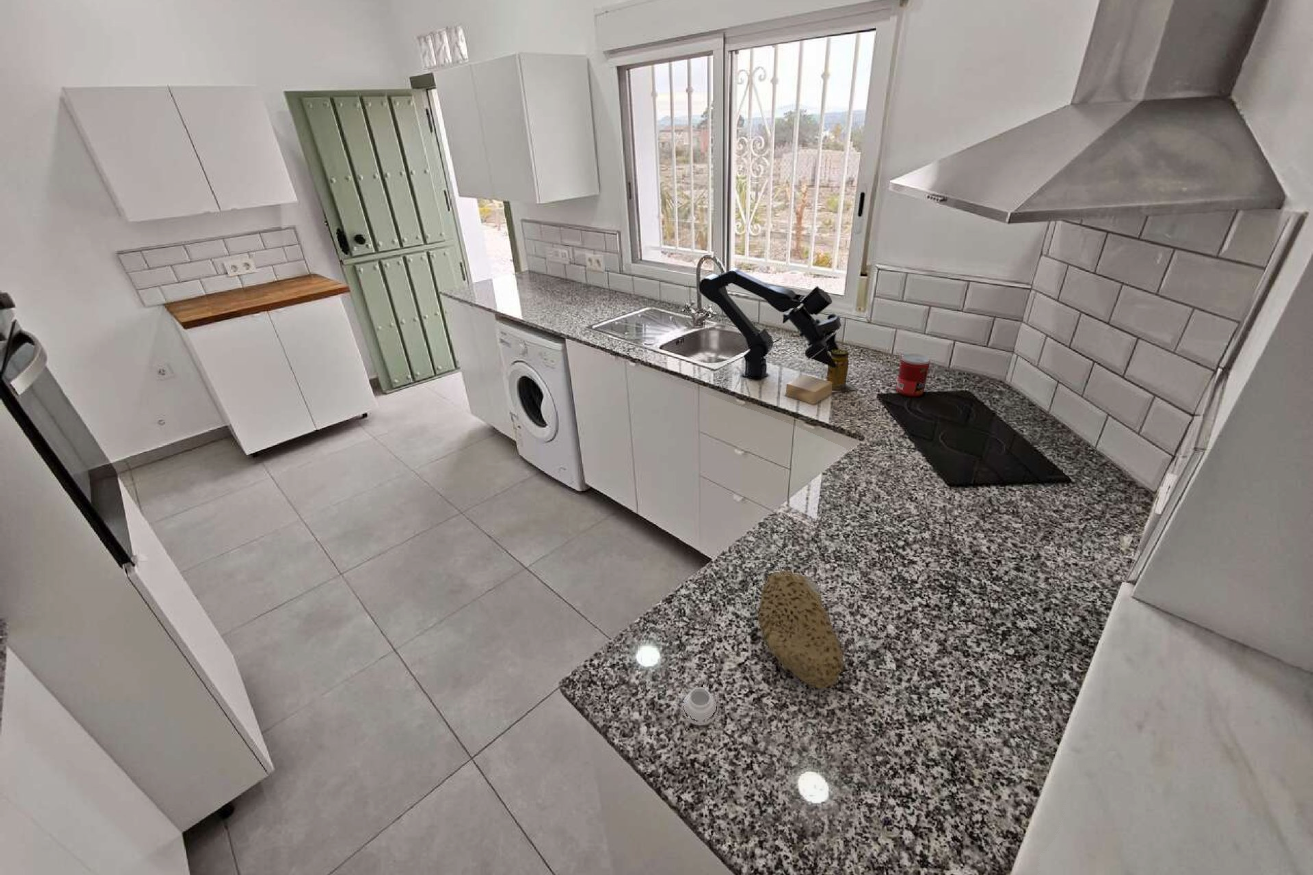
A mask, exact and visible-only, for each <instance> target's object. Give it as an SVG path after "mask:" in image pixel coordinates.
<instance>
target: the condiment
mask: <svg viewBox="0 0 1313 875" xmlns="http://www.w3.org/2000/svg"><path fill="white" fill-rule="evenodd" d="M830 356H831V357H832V359H833V360H834V362H835V363H836V365H837V366H836V367H835V368H833V367H830V366H828V365H827V372H826V379H825V380H826V381H830V382H833V383H832V391H831V393H840V392H842V393H843V392H846V391H847V392H849V391H855V390H857V388H855V387H854V386H852V385H851V384H850V383H848V382H847V378H848V372H849V363H850V361H849V351H848V350H845V349H840V348H839V349H836V350H833V351H831V353H830Z"/></svg>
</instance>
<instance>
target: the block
mask: <svg viewBox="0 0 1313 875" xmlns="http://www.w3.org/2000/svg"><path fill="white" fill-rule="evenodd" d="M832 383H833V382H830V381H826V379H822V378H819V377H816V376H812V375H808V374H805V373H804V374H802V375H800V376H798V377H797V378H795V379H792V380H790V381H789V382H787V383H786V384H785V385H786V387H785V397H788V398H789V397H790V398H792V399H796V400H799V401H801V402H805V403H808V404H811V405H815V404H816V403H817V404H818V402H820V401H822V400H824V399H825V398H827V397H829V396H830V395H832V392H831V391H832Z"/></svg>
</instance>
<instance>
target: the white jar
mask: <svg viewBox="0 0 1313 875" xmlns="http://www.w3.org/2000/svg"><path fill="white" fill-rule="evenodd" d="M684 699H685V700H684ZM684 699H683V701H682V705H681V710H682V714H683V717H684V718H685V719H686V721H688V723H691V724H692V725H695V726H700V727H701V726H707V725H709V724H711V723H713V721H715V719H716V718H717V716H718V713H719V705H718V704H717V705H716V702H717V703H718V701H717V700H716V698H715V697H714V695H713V694H712V693H711V692H710V691H709V690H708V689H707V688H705V687H699V686H698V687H695V688H693V689H692V690H691V691H690V692H688V694H687V695H686V696H685V697H684ZM715 700H716V701H715ZM683 702H684V703H683ZM683 704H684V705H683ZM683 706H684V710H685V712H686V713H687V714H688V715H689V716H691V718H692V719H695V720H699V721H701V720H704V719H709V717H711V716H712V715H713V713H714V712H715V710H716V706H717V712H716V714H715V715H714V717H713V718H712V719H710V720H708V721H706V722H696V721H693V720H691V719H690V718H688V717H687V716H686V714H685V712H684V710H683Z"/></svg>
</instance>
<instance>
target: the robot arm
mask: <svg viewBox="0 0 1313 875" xmlns="http://www.w3.org/2000/svg"><path fill="white" fill-rule="evenodd" d="M730 284H733V285H735V286H737V287H738V288H740V289H743V290H745V291H747V292H749V293H751V294H754V295H755V296H757V297H760V298H762V299H763V300H765V301H766V302H767V303H768V305H769V306H771V307H772V308H774V309H775V310H777V311H778V312H780V313H783V314H782V324H786V323H787V322H788V321H790V322H791V324H792V325H793V326H794V327H795V328H796V329H797V331H798V332H799V334H798V335H799V337H803V338H804V339H805V340H806V341H807V342H808V344H807V348H806V349H805V350H804V357H806V358H807V359H808V360H812V361H813V360H814V361H816V362H818V363H821V364H824V365H826V366H827V367H828V366H830V367H833V368H835V367H836V366H837V365H836V363H835V362H834V360H833V359H832V357H831V351H833V350H836V349H840V348H839V345H838V343H837V341H836V338H837V332H836V331H838V330H839V329H841V327H842V323H841V317H839V315H838V314H837V315H836V314H835V313H834V312H832V313H829V314H828V315H827V318H826V319H825V320H822V321H821V320H820V319H819V318H816V319H815V318H814V317H813V315H815V316H818V315H819V314H821V312H823V311H824V310H825V309H826V308H828V307H829V306H830V305H831V304H833V300H832V297H831V296H830V295H829V293H828V292H827V291H825V289H822V288H820V286H818V285H816V286H815V287H814V288H813V289H812V290H811V291H810V292H809V293H808V294H806V295H804V294H800V293H796V292H795V291H794V290H792V289H790V288H786V287H781V286H774V285H771V284H768V282H767V283H766V282H765V281H762V280H760V279H759V278H756V277H754V276H752V275H750V274H748V273H745V272H743V271H742V270H740V269H739V268H736V267H734V268H732V269H730V270H728V271H725V272H723V273H720V274H715V273H714V274H713V273H712V274H710V275H707V276H706V277H704V278H703V279H701V280H700V281H699V284H698V290H699V293H700V295H703V297H705V298H706V299H707V300H708V301H710V302H712V303H714V304H716V305H717V306H718V308H720V310H721V311H722V312H723V314H725V315H726V317H727V318H728V319H729V320H730V322H731V323H732V324H733V325H734V326H735V328H736V329H737V330H738V331H739V332H740V333H741V335H742V336H743V337H744V339H745V342H746V345H747V348H748V349H749V350H748V351H747V352H746V353H745V354H743V358H744V361H745V366H744V372H743V373H742V374H741V376H742V377H745V378H748V379H751V380H755V381H759V380H761V379H763V378H765V377H767V376H768V375H769V373H768V372H767V370H768V365H767V359H766V356H767V355H768V354H769V353H770V352H771V350H772V349H773V348H774V340H773V336H772V335H771V334H769V332H768V330H767V329H766V328H765V327H763V328H762V329H760V328H757V327H756V326H755V325H754V323H753V322H751V320H750V319H749V318H748V317H747V315H746V314H745V313H744V311H743V310H742V309H741V308H740V307H739V306H738V305H737V304H736V303H735V301H734V300H733V299H732V298H731V296H730V295H729V293H728V290H727V287H726V286H728V285H730ZM788 311H789V312H788Z"/></svg>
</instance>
